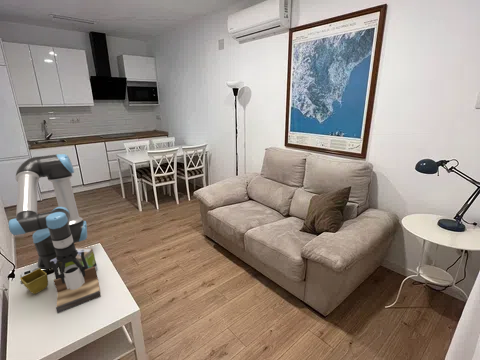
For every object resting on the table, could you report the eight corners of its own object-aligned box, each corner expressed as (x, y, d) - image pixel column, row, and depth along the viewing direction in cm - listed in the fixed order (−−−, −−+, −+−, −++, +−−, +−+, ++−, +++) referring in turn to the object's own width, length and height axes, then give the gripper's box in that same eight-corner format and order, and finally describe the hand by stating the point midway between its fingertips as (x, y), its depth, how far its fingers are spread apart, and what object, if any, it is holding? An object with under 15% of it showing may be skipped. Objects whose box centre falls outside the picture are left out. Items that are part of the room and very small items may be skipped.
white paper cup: (86, 283, 124) (82, 267, 120) (72, 292, 118) (67, 275, 115) (79, 278, 127) (74, 262, 123) (65, 287, 121) (60, 270, 118)
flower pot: (32, 298, 124) (26, 284, 121) (24, 291, 129) (19, 277, 126) (51, 287, 131) (47, 273, 128) (44, 281, 136) (39, 268, 133)
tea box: (98, 269, 144) (93, 247, 140) (86, 281, 135) (80, 259, 130) (74, 267, 146) (68, 246, 141) (61, 280, 137) (54, 257, 132)
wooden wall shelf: (58, 293, 127) (53, 279, 124) (98, 279, 136) (94, 266, 133) (57, 313, 116) (52, 298, 113) (100, 296, 125) (97, 282, 122)
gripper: (38, 255, 107) (52, 297, 115) (87, 241, 117) (98, 281, 124) (39, 247, 113) (53, 287, 121) (86, 234, 123) (96, 272, 130)
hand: (76, 284), depth 123 cm, fingers closed on white paper cup, 6 cm apart
